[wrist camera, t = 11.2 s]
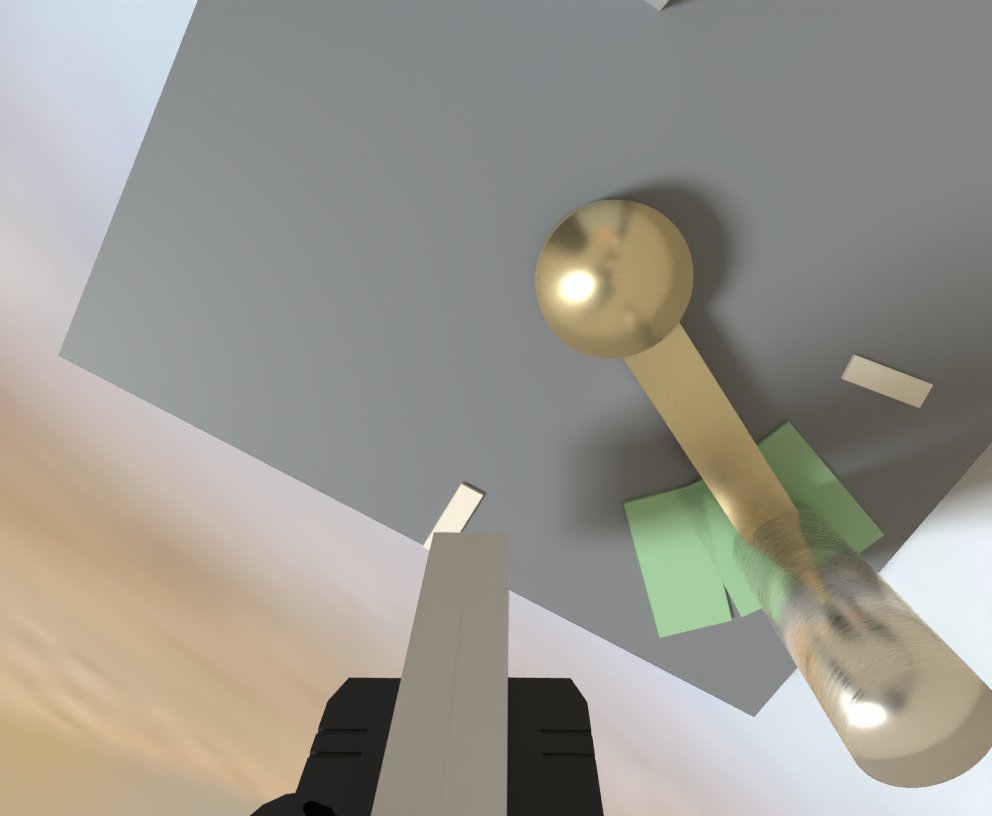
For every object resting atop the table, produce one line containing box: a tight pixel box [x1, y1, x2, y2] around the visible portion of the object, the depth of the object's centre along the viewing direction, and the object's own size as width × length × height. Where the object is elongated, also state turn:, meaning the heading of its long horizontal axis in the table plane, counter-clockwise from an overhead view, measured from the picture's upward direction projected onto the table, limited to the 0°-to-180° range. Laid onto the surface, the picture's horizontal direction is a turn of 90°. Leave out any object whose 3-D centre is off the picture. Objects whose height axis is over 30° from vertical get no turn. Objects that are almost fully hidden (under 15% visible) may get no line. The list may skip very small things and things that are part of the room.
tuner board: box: [59, 0, 992, 717], centre depth 13 cm, size 22×20×5 cm
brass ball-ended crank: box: [534, 200, 992, 788], centre depth 13 cm, size 11×3×6 cm, turn 35°
